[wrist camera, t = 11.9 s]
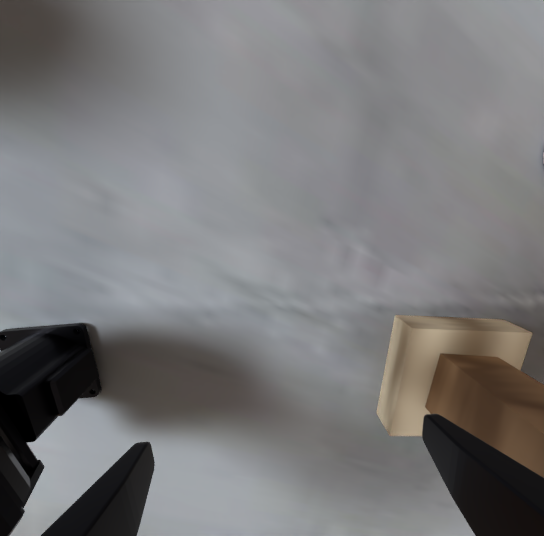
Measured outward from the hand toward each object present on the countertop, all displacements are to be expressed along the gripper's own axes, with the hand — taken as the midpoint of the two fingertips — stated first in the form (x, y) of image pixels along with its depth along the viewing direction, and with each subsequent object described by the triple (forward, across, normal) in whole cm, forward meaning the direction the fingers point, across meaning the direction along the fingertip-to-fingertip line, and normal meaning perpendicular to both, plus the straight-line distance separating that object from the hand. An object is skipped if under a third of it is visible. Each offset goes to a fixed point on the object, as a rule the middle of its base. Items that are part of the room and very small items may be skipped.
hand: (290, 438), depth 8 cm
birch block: (+14, -15, +8) cm, 22 cm away
